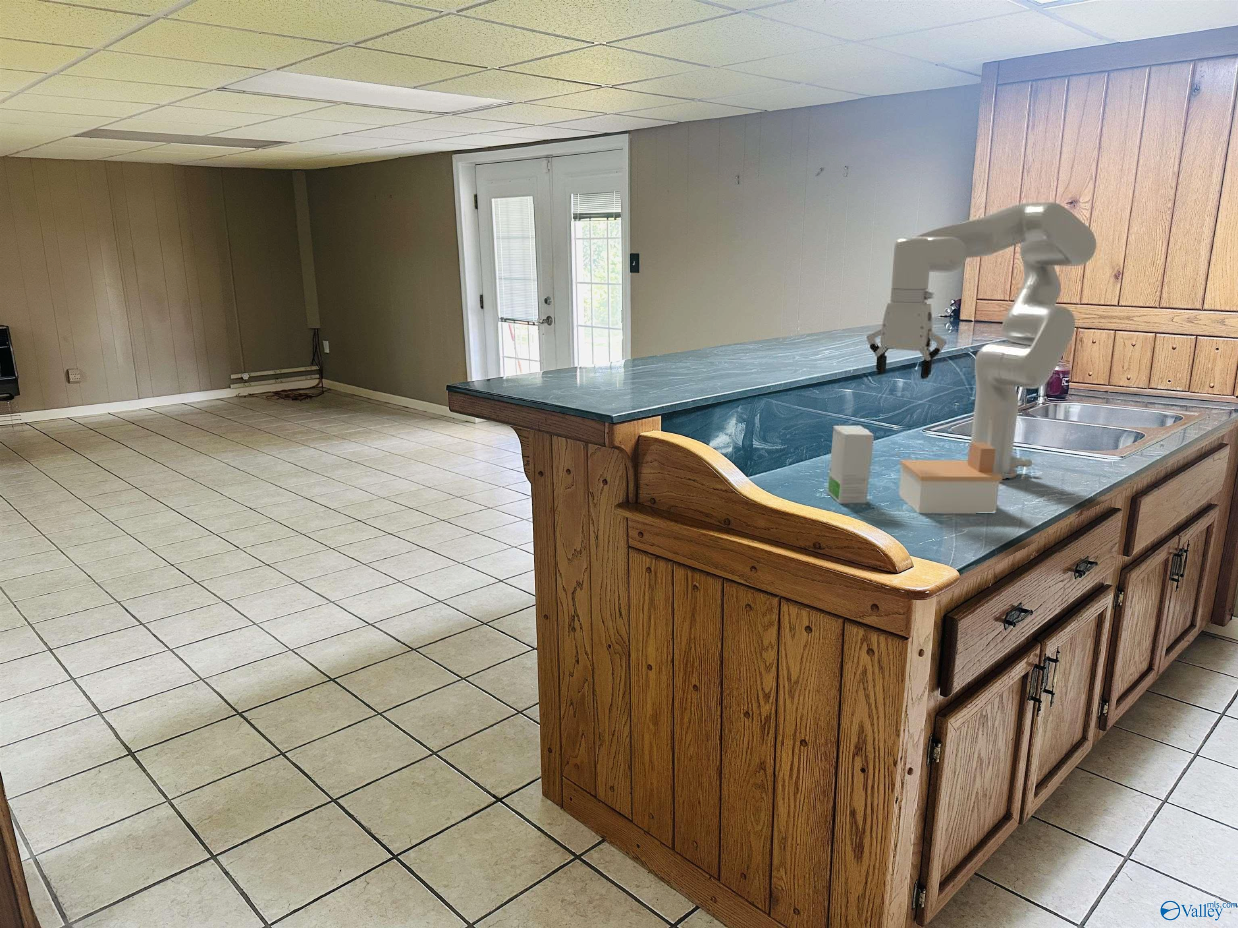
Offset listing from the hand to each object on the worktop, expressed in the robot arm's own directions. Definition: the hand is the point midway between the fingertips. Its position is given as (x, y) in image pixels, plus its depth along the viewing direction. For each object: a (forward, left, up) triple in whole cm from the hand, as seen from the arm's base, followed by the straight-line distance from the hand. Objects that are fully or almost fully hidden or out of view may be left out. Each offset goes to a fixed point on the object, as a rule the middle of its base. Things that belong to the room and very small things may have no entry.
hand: (902, 376), depth 189 cm
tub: (-8, +12, -26) cm, 29 cm away
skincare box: (+12, +8, -26) cm, 30 cm away
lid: (-8, +12, -19) cm, 24 cm away
